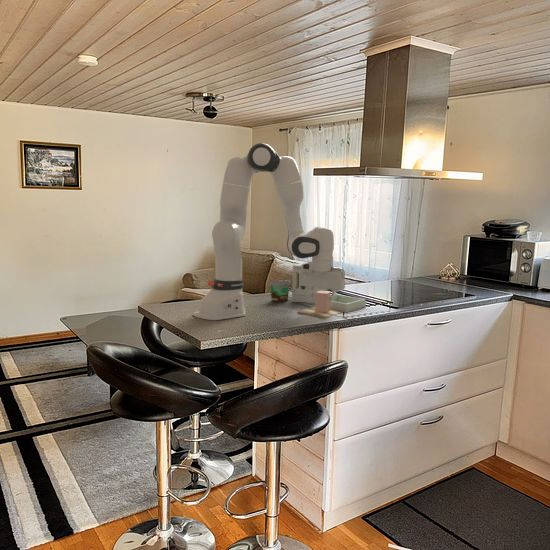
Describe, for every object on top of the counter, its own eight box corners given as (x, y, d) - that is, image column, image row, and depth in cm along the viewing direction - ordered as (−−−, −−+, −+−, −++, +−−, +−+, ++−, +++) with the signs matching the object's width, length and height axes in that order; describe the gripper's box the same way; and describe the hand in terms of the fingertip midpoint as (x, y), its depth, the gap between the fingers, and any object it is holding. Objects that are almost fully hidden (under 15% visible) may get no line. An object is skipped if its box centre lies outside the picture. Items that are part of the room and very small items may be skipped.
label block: (325, 312, 212) (326, 293, 211) (314, 310, 214) (315, 292, 213) (330, 310, 217) (330, 291, 216) (319, 308, 219) (319, 290, 218)
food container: (280, 303, 231) (280, 282, 230) (269, 301, 235) (269, 280, 233) (295, 299, 241) (296, 279, 239) (285, 298, 245) (285, 277, 243)
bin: (346, 313, 215) (346, 304, 214) (317, 307, 225) (317, 298, 224) (365, 307, 226) (365, 299, 226) (336, 302, 236) (337, 294, 236)
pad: (324, 318, 204) (324, 316, 204) (297, 313, 213) (297, 311, 213) (343, 313, 215) (343, 311, 214) (317, 308, 224) (317, 306, 223)
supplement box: (290, 302, 236) (291, 264, 233) (301, 297, 248) (302, 261, 245) (317, 305, 230) (318, 267, 227) (327, 300, 242) (328, 263, 239)
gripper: (348, 267, 208) (346, 300, 210) (305, 263, 219) (304, 294, 221) (341, 269, 203) (340, 303, 205) (297, 264, 214) (296, 296, 216)
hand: (321, 298), depth 213 cm, fingers open, 8 cm apart
